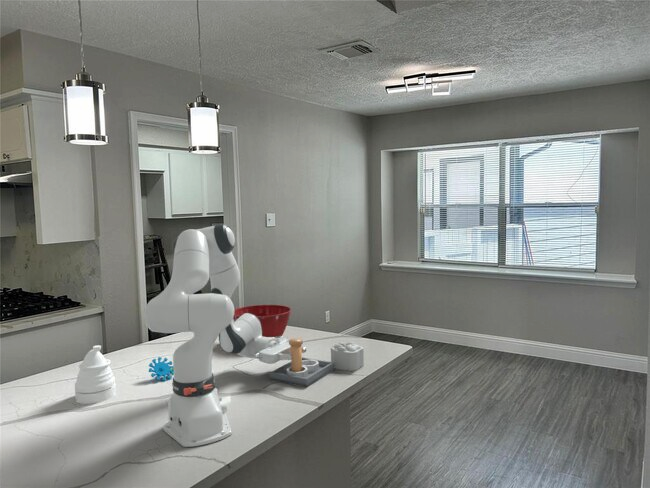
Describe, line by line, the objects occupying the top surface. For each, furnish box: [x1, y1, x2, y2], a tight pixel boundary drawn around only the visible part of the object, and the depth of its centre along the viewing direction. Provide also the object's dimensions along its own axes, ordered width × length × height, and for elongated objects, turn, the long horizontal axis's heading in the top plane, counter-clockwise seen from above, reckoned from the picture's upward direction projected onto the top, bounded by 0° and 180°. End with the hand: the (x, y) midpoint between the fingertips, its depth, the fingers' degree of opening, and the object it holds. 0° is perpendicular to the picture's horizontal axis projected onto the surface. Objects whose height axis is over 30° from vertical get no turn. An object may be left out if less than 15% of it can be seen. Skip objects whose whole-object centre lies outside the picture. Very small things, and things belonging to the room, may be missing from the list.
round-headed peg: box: [289, 338, 304, 372], centre depth 179 cm, size 5×5×13 cm
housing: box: [269, 356, 335, 388], centre depth 183 cm, size 16×20×4 cm
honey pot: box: [74, 344, 117, 405], centre depth 167 cm, size 13×13×18 cm
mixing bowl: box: [233, 304, 292, 337], centre depth 230 cm, size 28×28×15 cm
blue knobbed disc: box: [148, 356, 174, 382], centre depth 185 cm, size 11×6×10 cm
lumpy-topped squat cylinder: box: [330, 341, 365, 372], centre depth 193 cm, size 10×13×9 cm
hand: (298, 353), depth 179 cm, fingers open, 8 cm apart
